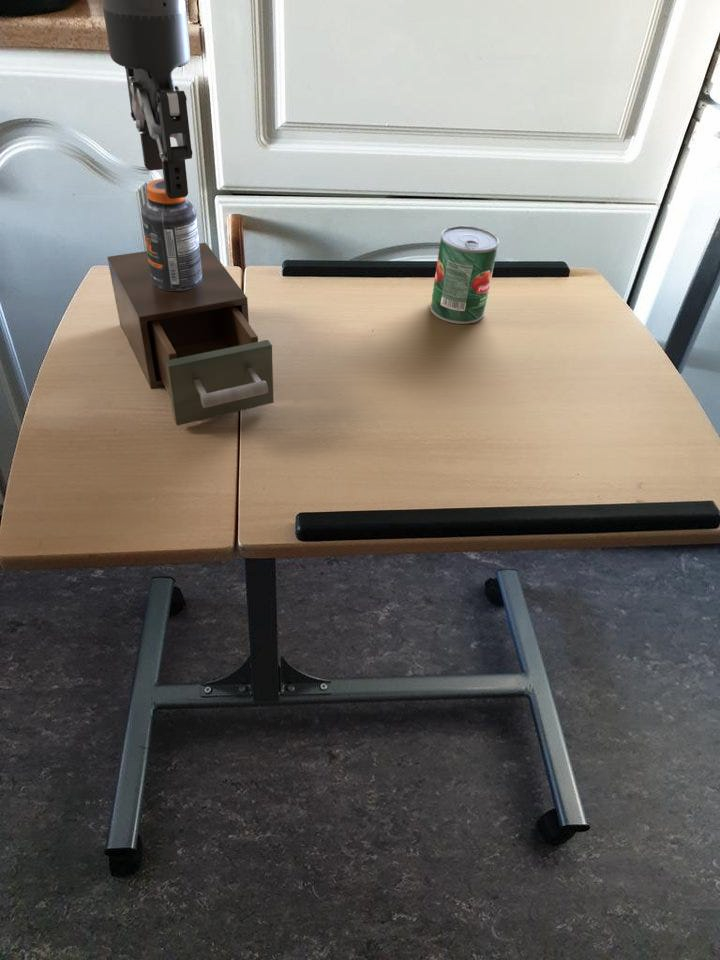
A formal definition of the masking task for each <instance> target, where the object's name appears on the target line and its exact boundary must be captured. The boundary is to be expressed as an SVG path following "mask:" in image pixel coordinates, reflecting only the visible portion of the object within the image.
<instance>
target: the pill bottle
mask: <svg viewBox="0 0 720 960" xmlns="http://www.w3.org/2000/svg"><path fill="white" fill-rule="evenodd" d="M146 192H147V199H148V200H147V201H146V202H145V203H144V204H143V205H142V208H141V213H140V214H141V219H142V227H143V234H144V240H145V245H146V251H147V254H148V261H149V268H150V274H151V280H152V282H153V284H154V285H156V286H157V287H159V288H161V289H164V290H169V291H182V290H187V289H190V288H193V287H195V286H197V285H198V284H199V283H200V282H201V280H202V268H201V258H200V248H199V243H200V238H199V230H198V221H197V220H198V218H197V210H196V208H195V205H194V204H193V203H192V202H191V201H189V200H188V199H186V197H182V198H174V199H171V198H169V197H168V196H167V194H166V192H165V184H164V178H156V179H153V180H151V181H149V182H148V183H147V184H146Z"/></svg>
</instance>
